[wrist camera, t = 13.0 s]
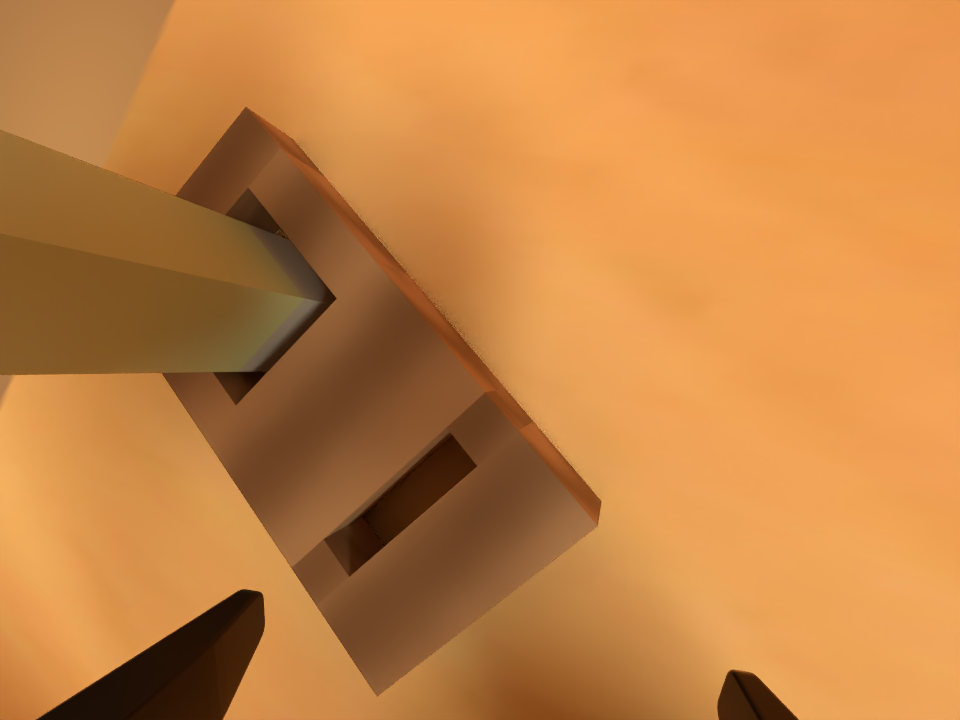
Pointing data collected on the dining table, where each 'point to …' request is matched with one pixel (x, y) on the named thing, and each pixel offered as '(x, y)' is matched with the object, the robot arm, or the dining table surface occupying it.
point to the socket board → (374, 429)
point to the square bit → (137, 276)
